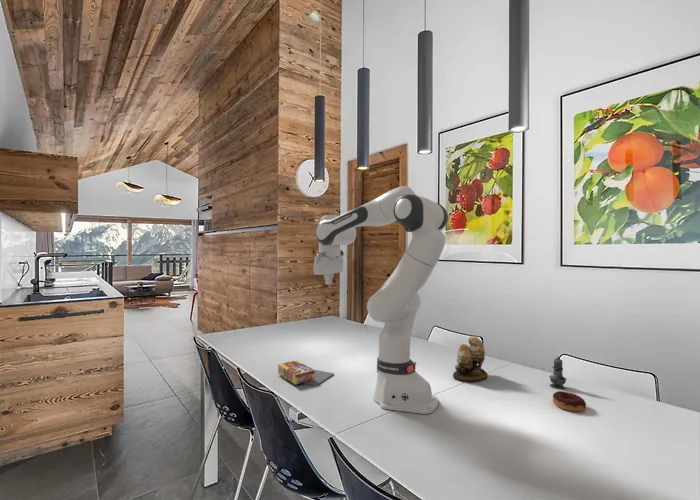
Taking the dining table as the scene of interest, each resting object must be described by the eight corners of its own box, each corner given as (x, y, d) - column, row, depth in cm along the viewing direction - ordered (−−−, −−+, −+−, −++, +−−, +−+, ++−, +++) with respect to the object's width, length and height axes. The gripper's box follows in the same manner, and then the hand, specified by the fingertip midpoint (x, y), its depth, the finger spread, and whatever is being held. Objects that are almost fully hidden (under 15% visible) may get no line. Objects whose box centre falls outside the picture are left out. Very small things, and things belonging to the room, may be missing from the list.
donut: (587, 416, 118) (587, 404, 118) (552, 409, 123) (552, 397, 123) (584, 404, 127) (585, 393, 127) (552, 398, 132) (552, 387, 132)
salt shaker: (551, 382, 147) (552, 353, 147) (568, 387, 142) (569, 356, 142) (546, 386, 143) (547, 356, 142) (563, 391, 138) (564, 359, 138)
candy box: (277, 374, 151) (294, 385, 139) (277, 363, 151) (294, 373, 139) (296, 370, 156) (315, 380, 144) (296, 360, 156) (315, 369, 144)
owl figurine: (468, 368, 164) (470, 330, 163) (494, 375, 155) (495, 335, 155) (446, 377, 151) (447, 336, 151) (472, 385, 143) (473, 342, 142)
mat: (334, 374, 152) (334, 373, 152) (316, 386, 140) (316, 384, 140) (301, 368, 159) (301, 367, 159) (282, 378, 147) (282, 377, 147)
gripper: (323, 252, 148) (322, 286, 148) (345, 252, 167) (345, 282, 167) (309, 252, 151) (309, 285, 151) (333, 251, 169) (333, 281, 169)
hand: (328, 284), depth 159 cm, fingers closed
